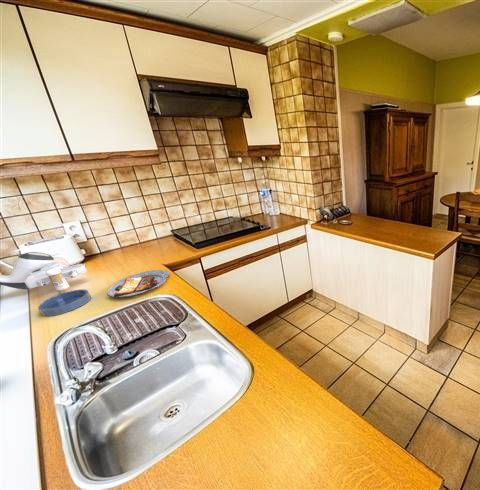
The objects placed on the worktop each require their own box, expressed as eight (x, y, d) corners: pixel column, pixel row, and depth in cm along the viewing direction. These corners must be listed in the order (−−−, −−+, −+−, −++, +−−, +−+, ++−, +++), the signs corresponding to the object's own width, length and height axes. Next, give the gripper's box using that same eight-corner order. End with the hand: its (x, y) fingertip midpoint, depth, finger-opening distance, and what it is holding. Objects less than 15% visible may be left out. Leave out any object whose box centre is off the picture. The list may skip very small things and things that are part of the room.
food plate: (161, 293, 126) (158, 287, 125) (100, 306, 119) (96, 299, 117) (174, 270, 148) (172, 264, 146) (123, 279, 140) (120, 274, 139)
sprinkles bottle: (57, 297, 127) (42, 273, 121) (62, 293, 131) (47, 269, 125) (70, 294, 129) (56, 270, 123) (74, 290, 133) (61, 266, 127)
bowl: (42, 321, 110) (37, 314, 109) (42, 307, 120) (38, 300, 118) (93, 303, 121) (89, 297, 119) (89, 291, 130) (86, 285, 129)
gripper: (88, 269, 143) (90, 276, 135) (30, 285, 130) (29, 295, 121) (82, 258, 141) (84, 266, 132) (23, 274, 127) (21, 283, 118)
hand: (58, 280), depth 127 cm, fingers open, 8 cm apart
